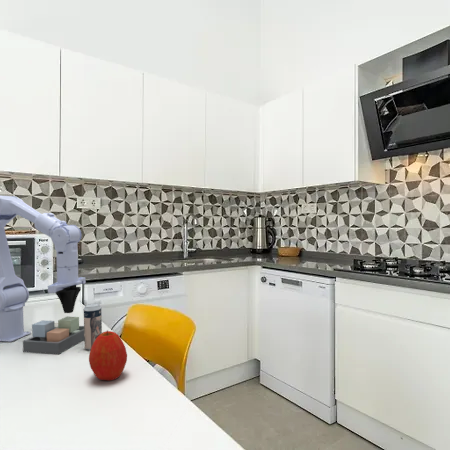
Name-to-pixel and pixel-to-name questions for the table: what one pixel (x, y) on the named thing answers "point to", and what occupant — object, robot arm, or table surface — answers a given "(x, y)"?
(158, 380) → the table surface
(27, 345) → the grey tray
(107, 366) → the apple
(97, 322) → the beer can
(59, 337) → the key terracotta
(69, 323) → the key sage
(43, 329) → the pale blue block
